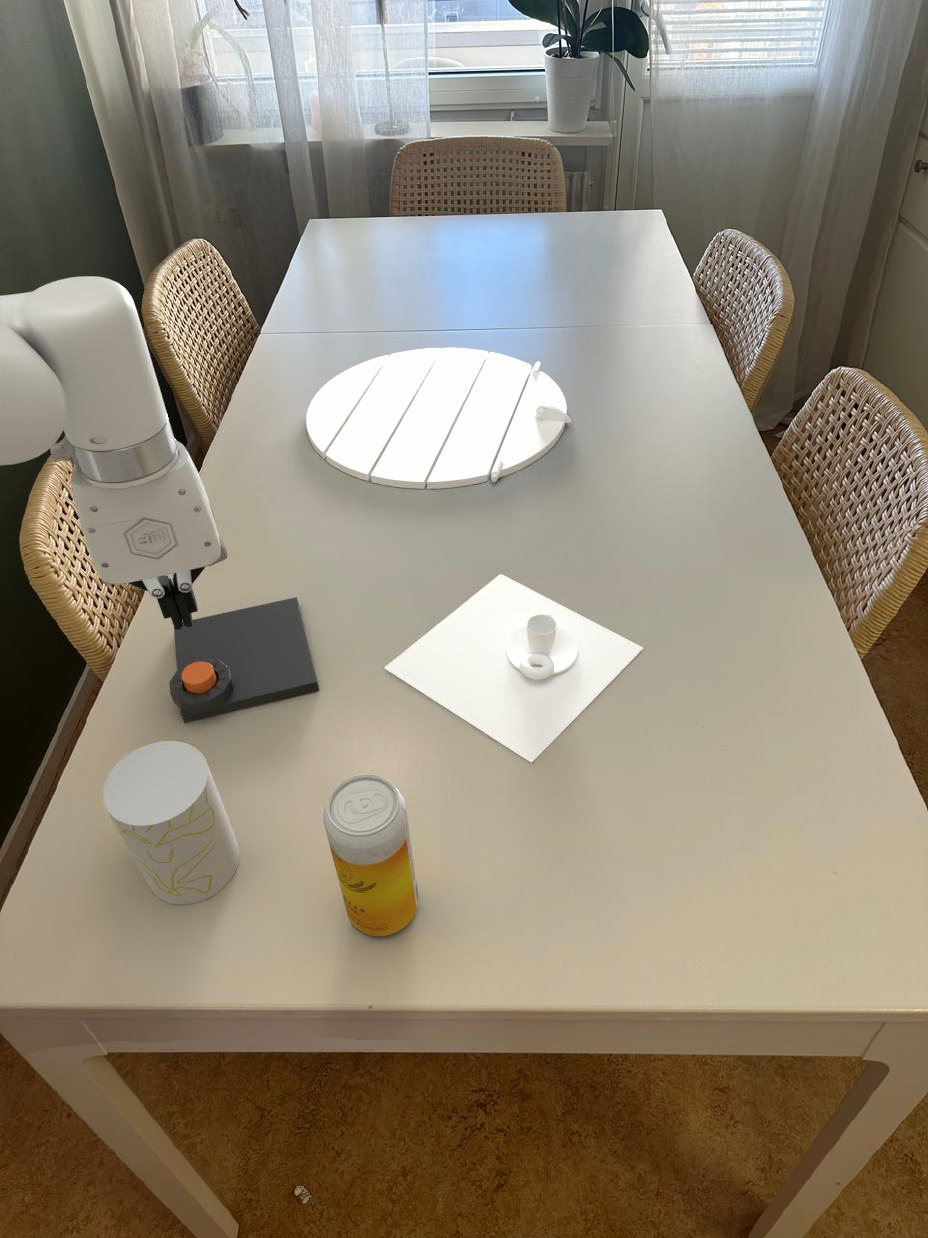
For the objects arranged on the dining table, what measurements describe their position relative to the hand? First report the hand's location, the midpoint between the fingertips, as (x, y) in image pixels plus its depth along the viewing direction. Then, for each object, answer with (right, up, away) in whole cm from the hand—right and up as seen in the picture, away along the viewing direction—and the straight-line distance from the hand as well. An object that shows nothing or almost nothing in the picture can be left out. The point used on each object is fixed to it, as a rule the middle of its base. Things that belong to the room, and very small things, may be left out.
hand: (183, 618), depth 80 cm
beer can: (+19, -24, -7) cm, 32 cm away
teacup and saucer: (+31, -4, +14) cm, 35 cm away
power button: (-1, -7, +9) cm, 11 cm away
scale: (+2, -5, +15) cm, 16 cm away
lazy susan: (+22, +31, +52) cm, 64 cm away
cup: (+2, -22, -3) cm, 22 cm away
